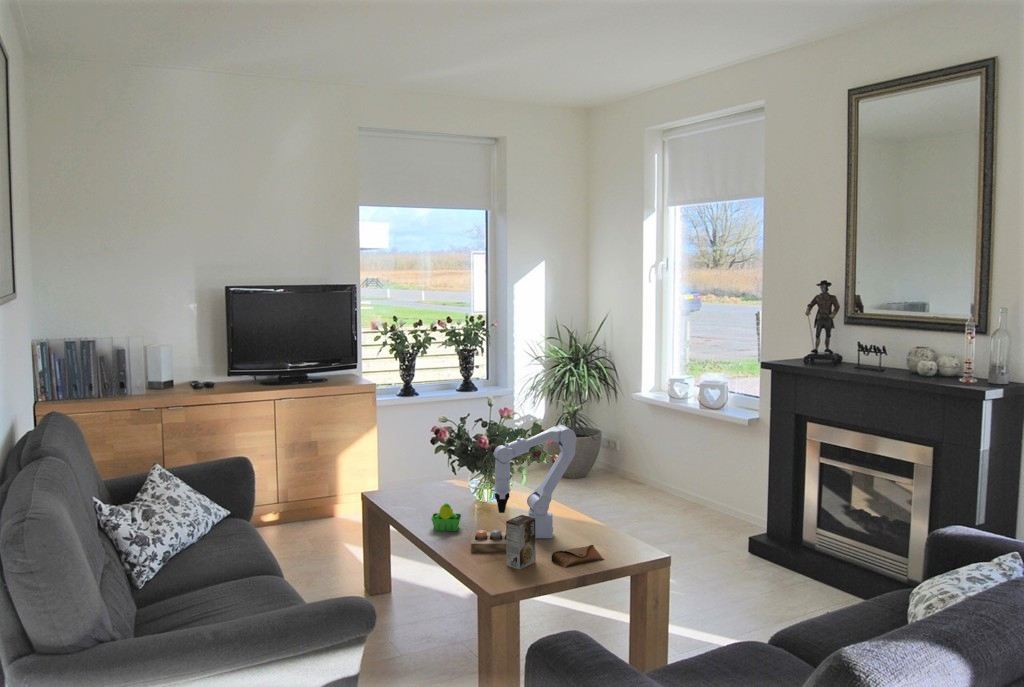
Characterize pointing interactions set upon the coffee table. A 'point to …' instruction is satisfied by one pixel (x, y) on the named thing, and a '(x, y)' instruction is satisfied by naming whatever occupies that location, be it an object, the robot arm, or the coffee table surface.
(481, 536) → the pink ball
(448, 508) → the fruit basket
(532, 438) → the robot arm
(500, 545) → the wooden tray
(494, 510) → the coffee table surface
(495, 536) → the blue-grey ball
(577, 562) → the sunglasses case
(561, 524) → the coffee table surface
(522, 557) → the coffee box
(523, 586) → the coffee table surface
